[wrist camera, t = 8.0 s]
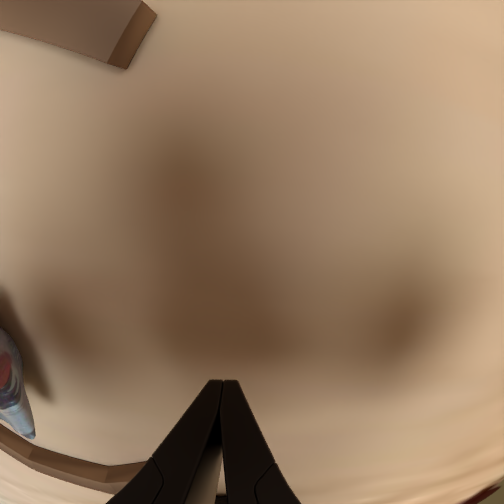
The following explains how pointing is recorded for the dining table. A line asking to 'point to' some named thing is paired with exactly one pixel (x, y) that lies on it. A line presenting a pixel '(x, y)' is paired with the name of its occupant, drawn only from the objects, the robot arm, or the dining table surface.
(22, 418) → the brake caliper
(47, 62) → the dining table surface
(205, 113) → the dining table surface
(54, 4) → the bent brown bar
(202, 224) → the dining table surface
